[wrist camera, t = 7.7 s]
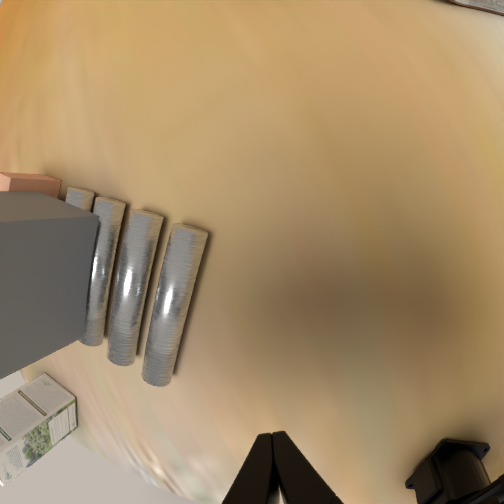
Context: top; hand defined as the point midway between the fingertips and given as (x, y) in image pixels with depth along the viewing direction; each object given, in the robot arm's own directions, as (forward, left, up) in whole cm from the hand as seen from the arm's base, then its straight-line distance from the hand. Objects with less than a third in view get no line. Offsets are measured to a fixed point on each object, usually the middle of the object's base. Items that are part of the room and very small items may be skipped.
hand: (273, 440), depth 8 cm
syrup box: (+21, +22, -12) cm, 33 cm away
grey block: (+19, +3, -9) cm, 21 cm away
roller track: (+14, +3, -12) cm, 19 cm away
